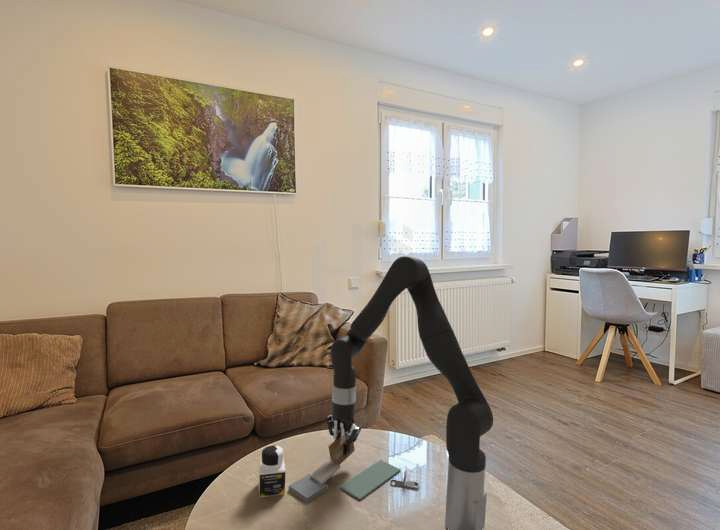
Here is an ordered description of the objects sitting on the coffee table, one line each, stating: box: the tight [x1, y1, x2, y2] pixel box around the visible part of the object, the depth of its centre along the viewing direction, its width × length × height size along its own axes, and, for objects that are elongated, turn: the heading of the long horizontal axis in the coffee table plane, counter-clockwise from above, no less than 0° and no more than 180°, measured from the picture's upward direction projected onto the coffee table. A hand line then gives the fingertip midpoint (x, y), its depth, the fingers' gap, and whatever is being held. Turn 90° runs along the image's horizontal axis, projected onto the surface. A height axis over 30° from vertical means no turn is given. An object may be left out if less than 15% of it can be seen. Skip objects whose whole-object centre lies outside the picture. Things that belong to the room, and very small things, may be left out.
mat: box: [339, 459, 401, 501], centre depth 121 cm, size 8×20×1 cm, turn 139°
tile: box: [288, 473, 329, 503], centre depth 114 cm, size 8×2×8 cm
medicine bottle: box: [258, 445, 287, 499], centre depth 114 cm, size 7×7×12 cm
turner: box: [310, 432, 356, 485], centre depth 122 cm, size 5×16×6 cm, turn 139°
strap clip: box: [390, 470, 420, 491], centre depth 119 cm, size 8×3×4 cm, turn 80°
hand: (341, 451), depth 125 cm, fingers closed on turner, 3 cm apart
